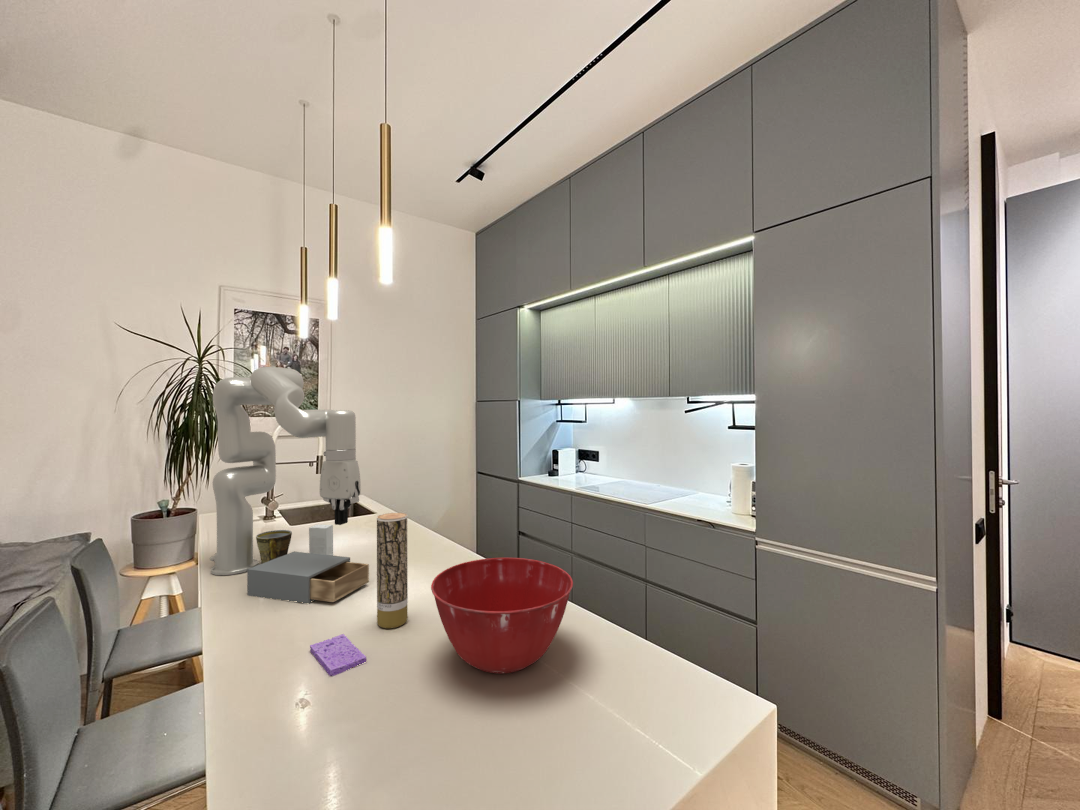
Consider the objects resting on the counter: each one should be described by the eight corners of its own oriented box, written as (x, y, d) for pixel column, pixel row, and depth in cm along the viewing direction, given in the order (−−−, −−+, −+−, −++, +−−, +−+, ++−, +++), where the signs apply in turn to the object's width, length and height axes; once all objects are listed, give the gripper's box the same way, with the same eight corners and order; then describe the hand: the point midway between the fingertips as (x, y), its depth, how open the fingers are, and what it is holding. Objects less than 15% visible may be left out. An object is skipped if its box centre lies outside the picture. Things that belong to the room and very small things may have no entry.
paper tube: (398, 631, 105) (398, 520, 105) (371, 628, 107) (370, 518, 107) (412, 617, 112) (412, 513, 112) (386, 615, 113) (386, 512, 113)
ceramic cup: (258, 562, 152) (258, 531, 152) (292, 558, 156) (292, 528, 156) (252, 575, 140) (252, 542, 140) (290, 570, 144) (290, 538, 144)
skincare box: (333, 561, 153) (333, 524, 153) (326, 565, 149) (326, 527, 149) (316, 560, 154) (316, 524, 154) (308, 564, 150) (308, 527, 150)
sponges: (343, 642, 102) (343, 633, 102) (367, 665, 92) (367, 656, 92) (309, 653, 97) (309, 644, 97) (330, 679, 88) (330, 669, 88)
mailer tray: (274, 593, 124) (273, 574, 124) (313, 575, 138) (313, 558, 138) (333, 602, 119) (333, 582, 119) (368, 582, 132) (368, 564, 132)
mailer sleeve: (247, 595, 126) (247, 569, 126) (294, 574, 141) (294, 551, 141) (308, 604, 120) (308, 576, 120) (350, 581, 135) (350, 557, 135)
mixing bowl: (596, 642, 100) (595, 570, 100) (524, 719, 75) (523, 623, 75) (489, 613, 114) (489, 549, 114) (400, 670, 90) (399, 589, 90)
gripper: (307, 456, 125) (308, 525, 125) (354, 458, 121) (355, 529, 121) (328, 453, 132) (328, 518, 132) (373, 455, 128) (373, 522, 128)
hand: (341, 523), depth 127 cm, fingers closed
